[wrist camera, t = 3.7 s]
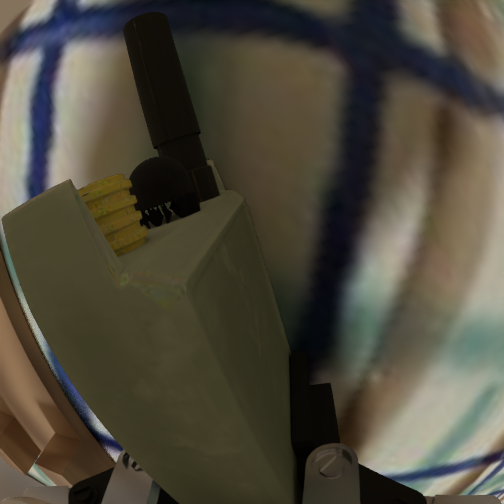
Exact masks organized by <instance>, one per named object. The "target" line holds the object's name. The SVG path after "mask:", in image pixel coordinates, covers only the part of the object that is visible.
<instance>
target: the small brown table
mask: <svg viewBox="0 0 504 504" xmlns="http://www.w3.org/2000/svg"><path fill="white" fill-rule="evenodd" d="M39 455H40V456H39ZM0 456H1V457H2V458H3V459H4V460H5V462H6V463H7V464H8V465H9V466H11V467H12V468H14V469H16V470H18V471H19V472H21V473H23V474H25V475H27V473H28V471H29V470H30V468H31V467H32V465H33V464H34V462H35V461H36V459H37V458H38V456H39V458H38V459H37V461H36V462H35V464H36V465H37V466H38V467H39V468H40V469H41V470H42V471H43V472H44V473H45V474H46V475H47V476H48V477H49V478H50V479H51V480H52V481H53V482H54V483H55V484H56V485H57V486H69V487H72V486H73V485H74V484H76V483H78V482H79V481H82V480H84V479H87V478H89V477H92V476H94V475H97V474H99V473H101V472H104V471H106V470H108V469H110V468H113V467H115V465H116V464H115V463H114V462H113V461H112V460H111V458H110V457H109V456H108V455H107V454H106V452H105V451H104V450H103V449H102V447H101V446H100V445H99V443H98V442H97V441H96V439H95V438H94V437H93V435H92V434H91V433H90V431H89V430H88V429H87V427H86V426H85V424H84V423H83V422H82V420H81V419H80V417H79V416H78V414H77V413H76V411H75V410H74V408H73V407H72V405H71V404H70V402H69V401H68V399H67V397H66V396H65V394H64V392H63V391H62V389H61V388H60V386H59V384H58V382H57V381H56V379H55V377H54V376H53V374H52V372H51V370H50V368H49V367H48V365H47V363H46V361H45V359H44V357H43V355H42V353H41V351H40V349H39V347H38V345H37V343H36V341H35V339H34V337H33V335H32V333H31V331H30V328H29V326H28V324H27V322H26V319H25V317H24V315H23V312H22V310H21V307H20V305H19V302H18V300H17V297H16V295H15V292H14V289H13V287H12V284H11V281H10V278H9V275H8V272H7V269H6V266H5V263H4V260H3V256H2V253H1V250H0Z"/></svg>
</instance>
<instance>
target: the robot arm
mask: <svg viewBox="0 0 504 504" xmlns="http://www.w3.org/2000/svg"><path fill="white" fill-rule="evenodd" d="M289 365H290V397H291V435H292V445H293V450H294V453H295V455H296V458H297V478H298V481H299V484H300V486H301V489H302V492H303V503H302V504H501V502H500V500H499V499H498V498H497V497H495V496H492V495H435V497H430V496H423V494H421V493H420V492H418V491H417V490H414V489H412V488H409V487H407V486H405V485H403V484H400V483H398V482H396V481H394V480H392V479H389V478H387V477H385V476H383V475H381V474H379V473H377V472H375V471H373V470H371V469H369V468H367V467H365V466H363V465H361V464H359V463H358V458H357V455H356V453H355V452H354V451H353V449H351V448H350V447H348V446H346V445H343V444H340V438H339V431H338V425H337V418H336V412H335V405H334V399H333V393H332V387H331V383H325V384H317V385H309V378H308V367H307V357H306V350H302V351H293V352H291V356H289ZM0 504H179V503H178V502H177V501H176V500H175V499H174V498H173V497H171V496H170V495H169V494H168V493H167V492H166V491H165V490H164V489H162V488H161V487H160V486H159V485H158V484H157V483H156V482H155V481H154V480H153V479H152V478H151V477H150V476H149V475H148V474H147V473H146V472H145V471H144V470H143V469H142V468H141V467H140V466H139V465H138V464H137V463H136V462H135V461H134V460H133V459H132V458H131V457H130V456H129V454H128V453H127V452H126V451H125V450H123V451H122V452H121V453H120V455H119V457H118V460H117V463H116V465H115V467H113V468H110V469H108V470H106V471H104V472H101V473H99V474H97V475H94V476H92V477H89V478H87V479H84V480H82V481H79V482H78V483H76V484H74V485H73V486H72V487H69V486H47V487H30V488H28V489H26V490H25V491H24V492H23V494H22V497H19V496H18V497H9V498H6V499H4V500H2V501H1V502H0Z"/></svg>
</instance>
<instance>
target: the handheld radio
mask: <svg viewBox="0 0 504 504" xmlns="http://www.w3.org/2000/svg"><path fill="white" fill-rule="evenodd" d="M123 32H124V36H125V41H126V45H127V49H128V54H129V58H130V62H131V66H132V70H133V74H134V78H135V82H136V86H137V90H138V94H139V98H140V102H141V105H142V109H143V113H144V116H145V120H146V123H147V127H148V130H149V134H150V137H151V141H152V144H153V147H154V149H157V150H158V153H159V157H154V158H150V159H148V160H145V161H144V162H142V163H141V164H139V165H138V166H137V167H136V168H135V169H134V171H133V172H132V174H131V176H130V178H129V179H125V177H124V174H118V175H114V176H110V177H107V178H104V179H102V180H99V181H96V182H94V183H91V184H89V185H87V186H85V187H83V188H81V189H79V190H76V188H75V187H74V185H73V183H72V181H71V179H69V180H67V181H65V182H63V183H60V184H58V185H56V186H54V187H52V188H50V189H48V190H46V191H44V192H43V193H41V194H39V195H37V196H35V197H34V198H32V199H30V200H28V201H27V202H25V203H23V204H22V205H20V206H18V207H17V208H15V209H14V210H12V211H11V212H9V213H8V214H6V215H5V216H3V217H2V224H3V229H4V233H5V237H6V242H7V245H8V249H9V252H10V255H11V259H12V262H13V265H14V268H15V271H16V274H17V277H18V280H19V283H20V285H21V288H22V291H23V293H24V296H25V299H26V301H27V304H28V306H29V309H30V311H31V313H32V315H33V317H34V319H35V321H36V323H37V325H38V327H39V328H40V330H41V332H42V334H43V336H44V338H45V339H46V341H47V343H48V345H49V347H50V348H51V350H52V352H53V353H54V355H55V357H56V358H57V360H58V362H59V363H60V365H61V367H62V368H63V370H64V371H65V373H66V374H67V376H68V377H69V379H70V380H71V382H72V383H73V385H74V386H75V388H76V389H77V391H78V392H79V394H80V395H81V396H82V398H83V399H84V401H85V402H86V403H87V405H88V406H89V407H90V409H91V410H92V411H93V413H94V414H95V415H96V417H97V418H98V419H99V420H100V422H101V423H102V424H103V425H104V427H105V428H106V429H107V430H108V432H109V433H110V434H111V435H112V436H113V437H114V439H115V440H116V441H117V442H118V443H119V444H120V446H121V447H122V448H123V449H124V450H125V451H126V452H127V453H128V454H129V456H130V457H131V458H132V459H133V460H134V461H135V462H136V463H137V464H138V465H139V466H140V467H141V468H142V469H143V470H144V471H145V472H146V473H147V474H148V475H149V476H150V477H151V478H152V479H153V480H154V481H155V482H156V483H157V484H158V485H159V486H160V487H161V488H162V489H164V490H165V491H166V492H167V493H168V494H169V495H170V496H171V497H173V498H174V499H175V500H176V501H177V502H178V503H179V504H302V503H303V492H302V489H301V486H300V484H299V481H298V478H297V458H296V455H295V453H294V450H293V445H292V435H291V397H290V365H289V356H291V351H290V347H289V344H288V341H287V337H286V334H285V330H284V327H283V323H282V320H281V316H280V313H279V310H278V306H277V303H276V299H275V296H274V292H273V289H272V286H271V282H270V279H269V275H268V272H267V269H266V265H265V262H264V258H263V255H262V252H261V248H260V245H259V242H258V238H257V235H256V231H255V228H254V225H253V221H252V218H251V215H250V211H249V208H248V206H247V203H246V201H245V198H244V197H243V196H241V195H240V194H239V193H237V192H236V191H235V190H226V189H225V187H224V185H223V182H222V180H221V178H220V176H219V173H218V171H217V169H216V167H215V164H214V162H213V160H212V159H211V160H207V161H206V158H205V154H204V151H203V148H202V145H201V141H200V138H199V134H200V133H201V132H200V128H199V125H198V122H197V118H196V115H195V112H194V108H193V105H192V102H191V98H190V95H189V92H188V88H187V85H186V82H185V78H184V75H183V71H182V68H181V65H180V61H179V58H178V54H177V51H176V47H175V44H174V41H173V37H172V34H171V30H170V27H169V23H168V20H167V17H166V15H165V14H163V13H159V12H150V13H145V14H142V15H139V16H137V17H135V18H133V19H131V20H130V21H129V22H127V24H126V25H125V26H124V28H123ZM167 202H171V205H170V208H169V209H170V210H168V209H167V207H166V205H165V204H164V203H167ZM162 204H163V206H162ZM159 205H161V208H162V211H163V214H162V213H161V211H160V210H159V208H158V206H159ZM153 207H157V210H155V209H154V208H153ZM150 208H152V209H151V210H150ZM145 210H148V213H149V215H147V214H146V213H145Z"/></svg>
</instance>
